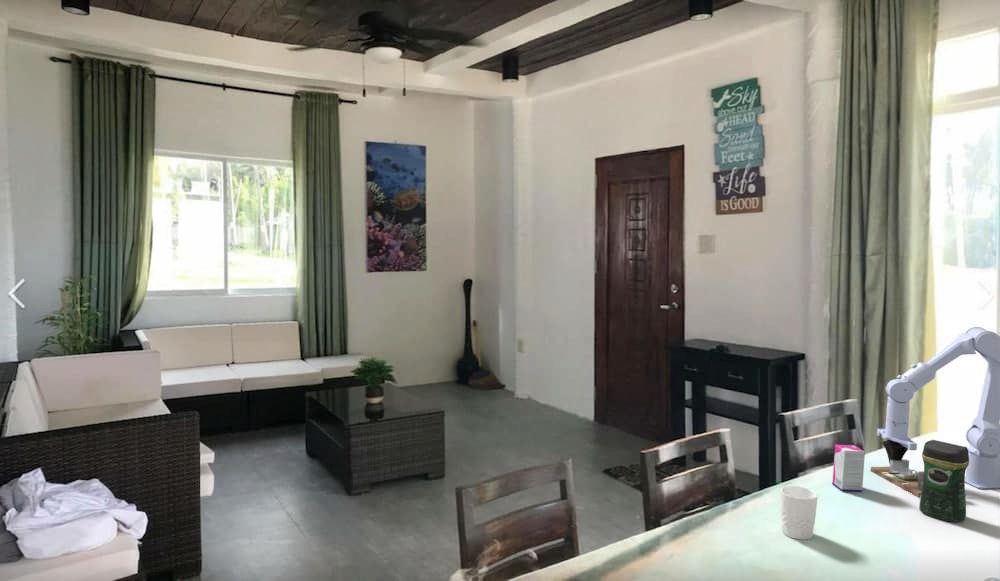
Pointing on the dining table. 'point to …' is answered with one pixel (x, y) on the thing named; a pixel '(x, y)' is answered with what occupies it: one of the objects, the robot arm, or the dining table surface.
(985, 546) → the dining table surface
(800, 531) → the white cup
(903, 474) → the brushed steel block
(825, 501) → the dining table surface
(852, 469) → the supplement box
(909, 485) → the gauge frame
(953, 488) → the coffee jar
